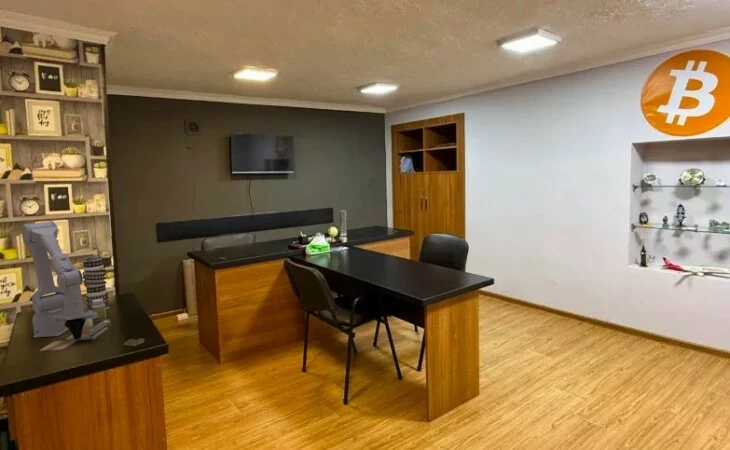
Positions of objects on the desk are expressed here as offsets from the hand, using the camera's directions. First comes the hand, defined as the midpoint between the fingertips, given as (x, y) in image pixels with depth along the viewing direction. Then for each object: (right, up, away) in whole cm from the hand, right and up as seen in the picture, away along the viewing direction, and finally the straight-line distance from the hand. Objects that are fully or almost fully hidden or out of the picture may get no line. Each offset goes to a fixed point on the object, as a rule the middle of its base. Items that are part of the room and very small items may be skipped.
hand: (78, 338), depth 157 cm
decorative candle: (-16, +3, +38) cm, 41 cm away
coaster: (-5, -2, -3) cm, 6 cm away
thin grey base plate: (+2, +1, +14) cm, 14 cm away
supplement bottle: (-7, +1, +25) cm, 26 cm away
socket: (-1, -1, +7) cm, 7 cm away
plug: (-1, -1, +7) cm, 7 cm away
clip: (+2, +1, +7) cm, 8 cm away
